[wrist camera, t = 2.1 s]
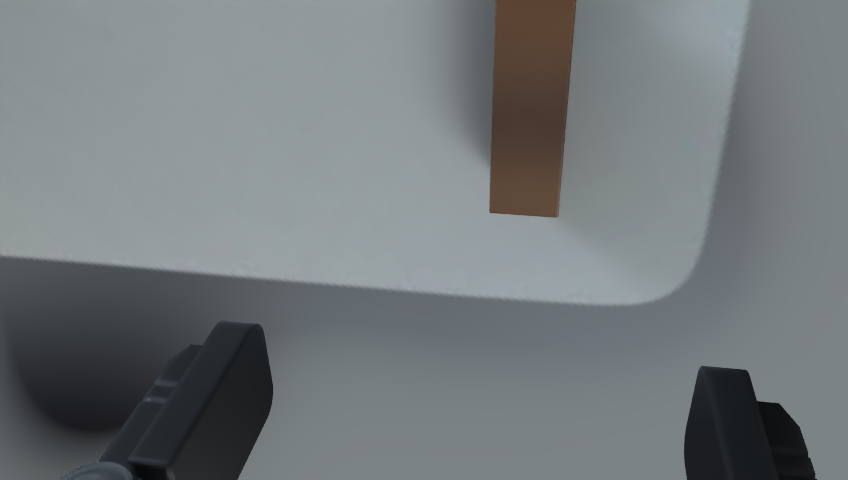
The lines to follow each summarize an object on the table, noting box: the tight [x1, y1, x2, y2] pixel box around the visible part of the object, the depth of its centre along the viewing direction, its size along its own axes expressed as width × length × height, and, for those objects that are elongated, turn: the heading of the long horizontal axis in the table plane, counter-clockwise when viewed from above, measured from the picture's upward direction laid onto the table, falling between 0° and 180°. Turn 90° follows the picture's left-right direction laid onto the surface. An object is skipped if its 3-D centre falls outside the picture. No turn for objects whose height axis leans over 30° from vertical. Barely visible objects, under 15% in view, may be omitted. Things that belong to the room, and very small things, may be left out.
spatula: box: [489, 0, 576, 217], centre depth 22 cm, size 12×4×3 cm, turn 1°
